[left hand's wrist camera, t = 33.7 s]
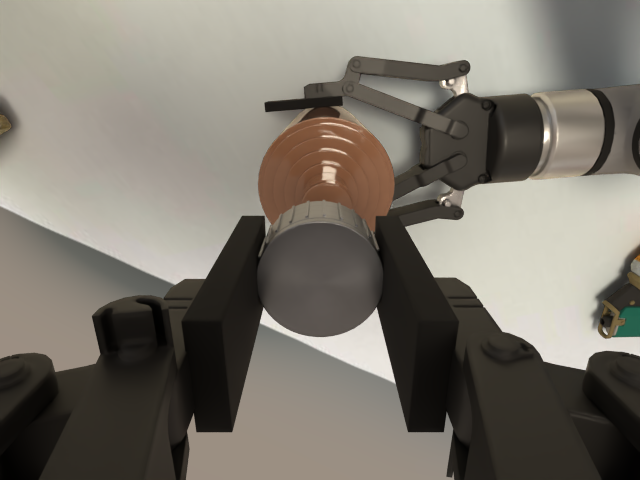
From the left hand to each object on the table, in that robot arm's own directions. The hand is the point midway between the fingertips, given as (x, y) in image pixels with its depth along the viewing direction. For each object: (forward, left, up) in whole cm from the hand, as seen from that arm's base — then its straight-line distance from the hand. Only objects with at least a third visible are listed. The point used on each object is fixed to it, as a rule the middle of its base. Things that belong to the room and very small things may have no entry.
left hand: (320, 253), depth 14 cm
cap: (0, 0, +2) cm, 2 cm away
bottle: (0, 0, -31) cm, 31 cm away
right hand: (-4, -3, -25) cm, 25 cm away
